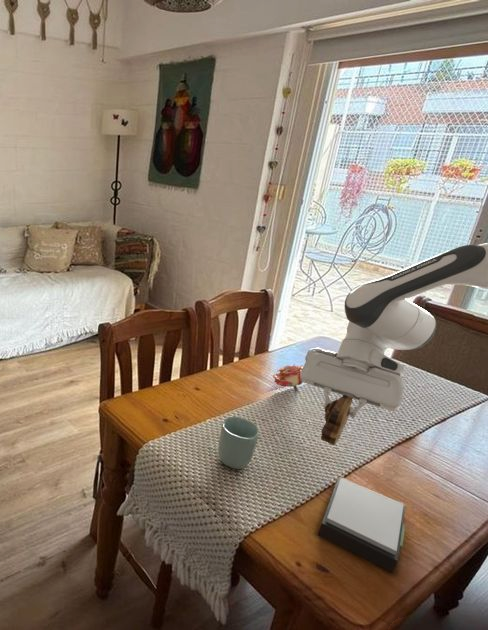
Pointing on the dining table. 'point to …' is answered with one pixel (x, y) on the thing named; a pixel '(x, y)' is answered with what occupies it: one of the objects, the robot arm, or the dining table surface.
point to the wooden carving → (336, 419)
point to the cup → (237, 442)
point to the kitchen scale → (365, 523)
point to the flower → (289, 376)
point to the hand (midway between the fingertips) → (339, 412)
